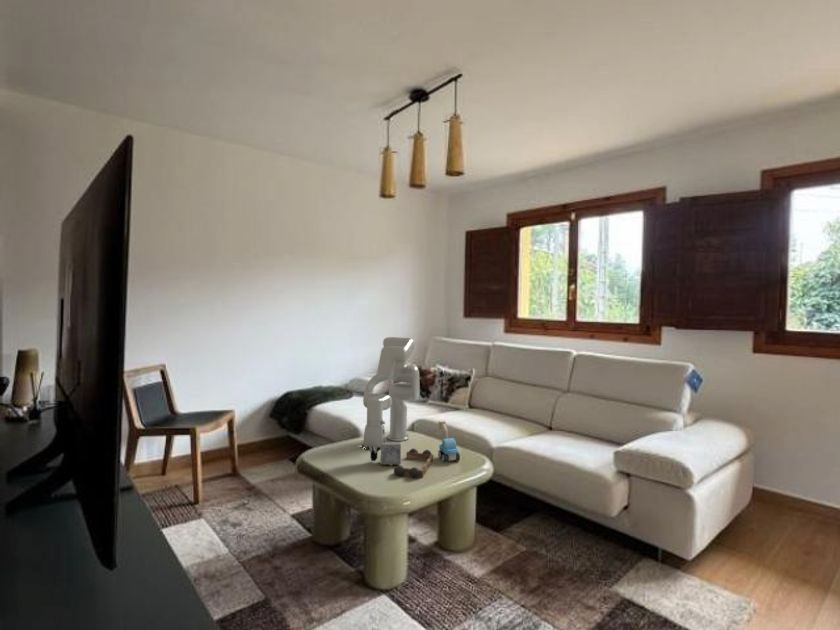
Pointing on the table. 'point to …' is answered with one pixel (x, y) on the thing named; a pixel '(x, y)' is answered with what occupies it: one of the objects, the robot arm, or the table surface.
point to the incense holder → (391, 453)
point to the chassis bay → (415, 471)
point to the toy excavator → (447, 446)
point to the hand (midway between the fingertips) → (373, 460)
